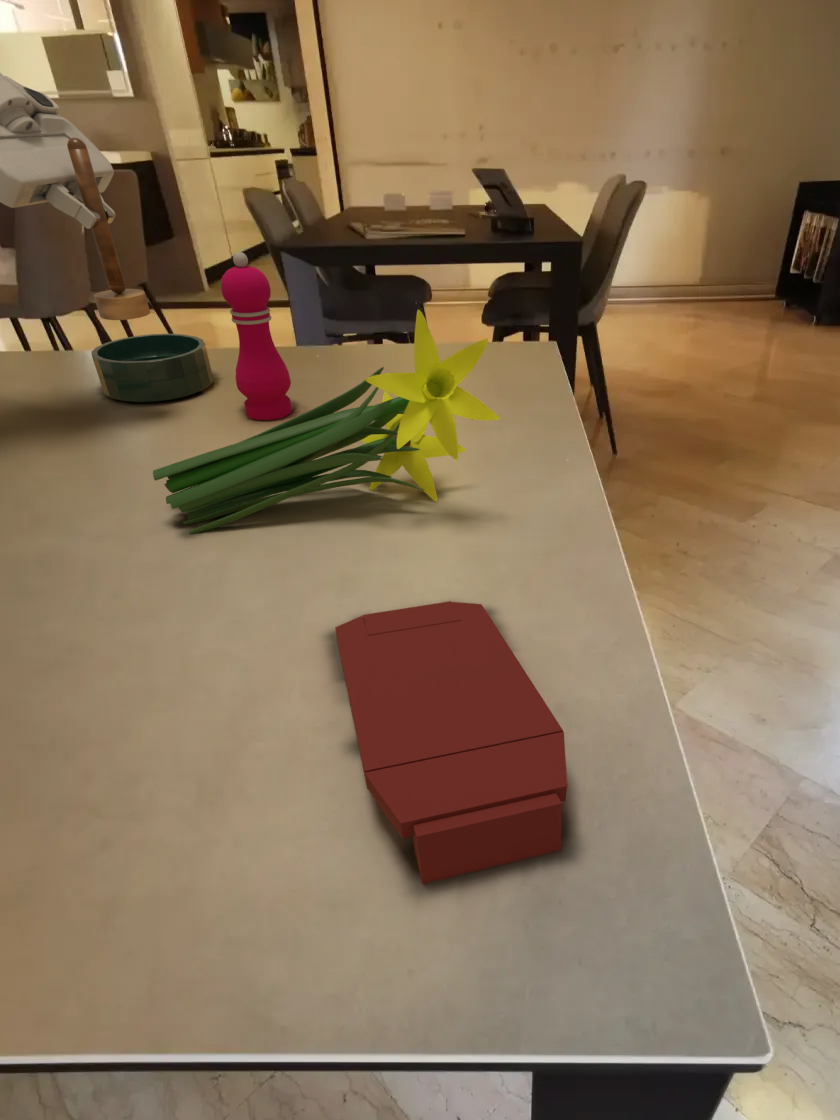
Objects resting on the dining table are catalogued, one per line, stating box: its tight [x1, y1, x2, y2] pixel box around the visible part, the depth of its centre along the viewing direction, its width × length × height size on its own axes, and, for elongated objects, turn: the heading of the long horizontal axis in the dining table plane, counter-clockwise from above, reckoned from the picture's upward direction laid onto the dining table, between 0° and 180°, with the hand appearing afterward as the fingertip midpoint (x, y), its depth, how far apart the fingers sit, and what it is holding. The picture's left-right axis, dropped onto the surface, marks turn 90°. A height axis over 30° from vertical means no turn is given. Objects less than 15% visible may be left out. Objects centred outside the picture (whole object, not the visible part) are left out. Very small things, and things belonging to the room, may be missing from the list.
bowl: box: [91, 333, 214, 403], centre depth 105 cm, size 16×16×6 cm
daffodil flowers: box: [152, 309, 501, 535], centre depth 71 cm, size 17×15×35 cm
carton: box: [334, 600, 568, 885], centre depth 49 cm, size 12×5×25 cm
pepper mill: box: [220, 251, 293, 421], centre depth 92 cm, size 7×7×20 cm
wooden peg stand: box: [67, 138, 151, 321], centre depth 84 cm, size 6×6×18 cm
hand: (103, 222), depth 84 cm, fingers closed on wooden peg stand
